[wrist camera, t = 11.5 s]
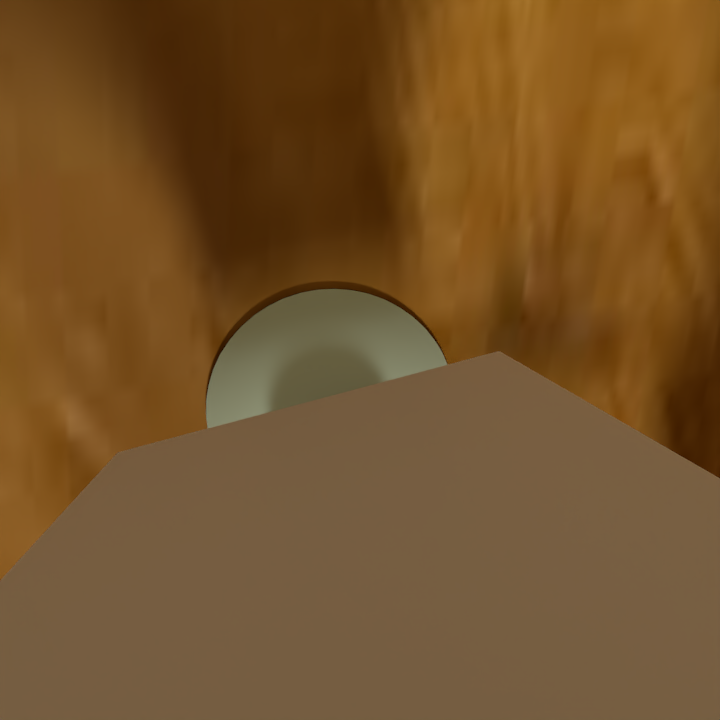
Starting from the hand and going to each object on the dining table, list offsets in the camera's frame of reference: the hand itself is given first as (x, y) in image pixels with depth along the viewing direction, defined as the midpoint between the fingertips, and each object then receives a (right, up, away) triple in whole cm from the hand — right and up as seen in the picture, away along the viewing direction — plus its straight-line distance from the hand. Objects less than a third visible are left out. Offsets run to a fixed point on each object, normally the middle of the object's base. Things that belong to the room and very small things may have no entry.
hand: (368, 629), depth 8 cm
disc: (-1, +3, +10) cm, 10 cm away
